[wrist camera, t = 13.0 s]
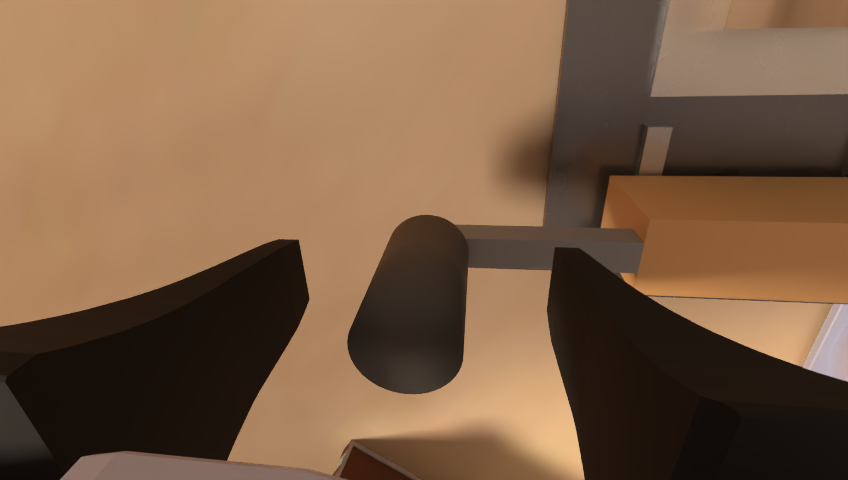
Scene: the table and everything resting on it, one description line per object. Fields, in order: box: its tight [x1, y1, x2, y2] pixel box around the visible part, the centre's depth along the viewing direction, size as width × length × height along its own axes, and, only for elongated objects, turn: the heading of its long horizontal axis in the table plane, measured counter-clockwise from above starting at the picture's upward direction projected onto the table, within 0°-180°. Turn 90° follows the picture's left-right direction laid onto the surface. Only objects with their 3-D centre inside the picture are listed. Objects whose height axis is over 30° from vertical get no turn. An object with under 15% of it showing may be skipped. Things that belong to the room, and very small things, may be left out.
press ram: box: [347, 176, 848, 394], centre depth 12 cm, size 18×2×8 cm, turn 92°
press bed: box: [543, 0, 848, 304], centre depth 12 cm, size 14×18×3 cm
